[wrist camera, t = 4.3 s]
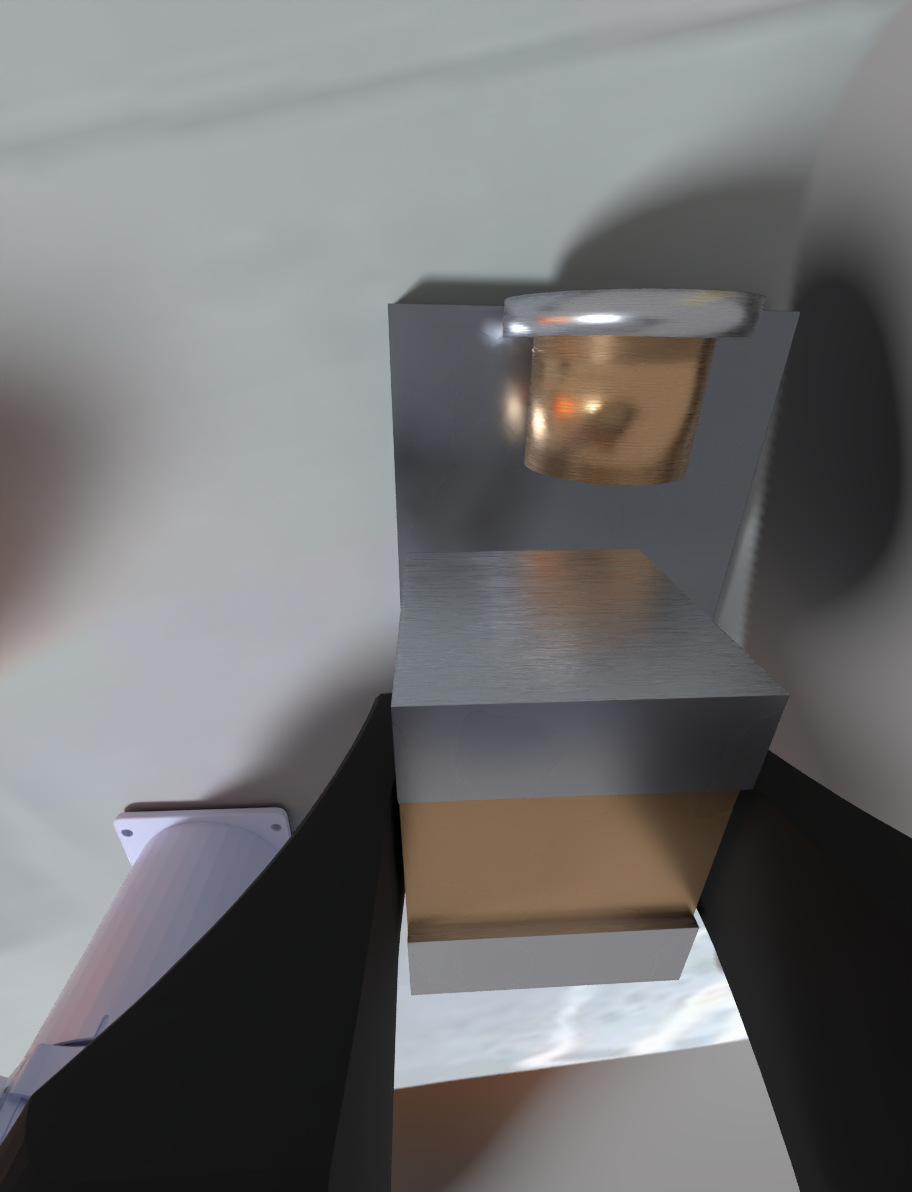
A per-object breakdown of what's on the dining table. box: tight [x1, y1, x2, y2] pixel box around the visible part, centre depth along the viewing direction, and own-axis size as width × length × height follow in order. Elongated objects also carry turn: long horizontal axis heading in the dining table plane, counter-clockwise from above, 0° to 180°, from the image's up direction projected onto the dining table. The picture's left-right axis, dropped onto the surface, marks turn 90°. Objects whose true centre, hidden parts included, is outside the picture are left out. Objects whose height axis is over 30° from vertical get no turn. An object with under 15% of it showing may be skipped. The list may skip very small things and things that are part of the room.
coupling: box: [391, 549, 789, 995], centre depth 9 cm, size 6×5×5 cm
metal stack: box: [388, 288, 800, 620], centre depth 16 cm, size 18×12×6 cm, turn 179°
